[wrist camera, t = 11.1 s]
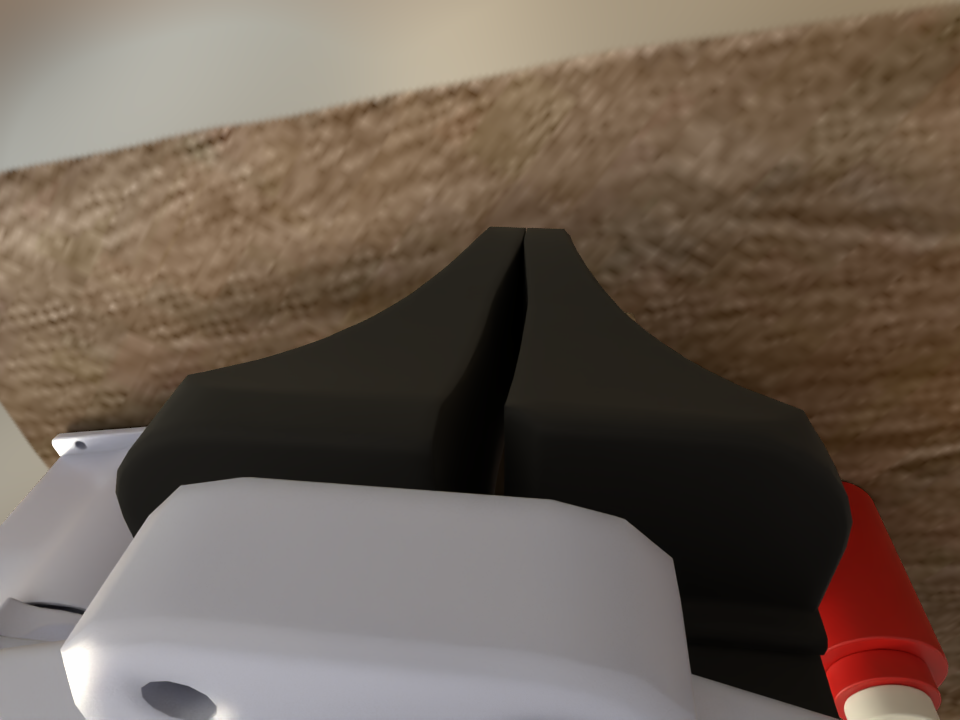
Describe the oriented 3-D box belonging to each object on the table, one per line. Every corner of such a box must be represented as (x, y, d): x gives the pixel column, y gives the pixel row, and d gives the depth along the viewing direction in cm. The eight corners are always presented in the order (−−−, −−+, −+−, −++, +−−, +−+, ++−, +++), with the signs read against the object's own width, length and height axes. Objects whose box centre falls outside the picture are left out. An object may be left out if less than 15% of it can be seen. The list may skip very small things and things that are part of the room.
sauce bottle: (759, 551, 30) (817, 766, 23) (763, 481, 28) (829, 698, 20) (867, 547, 29) (962, 771, 22) (881, 475, 27) (993, 700, 19)
